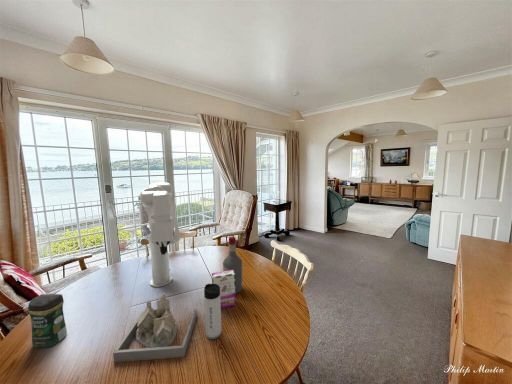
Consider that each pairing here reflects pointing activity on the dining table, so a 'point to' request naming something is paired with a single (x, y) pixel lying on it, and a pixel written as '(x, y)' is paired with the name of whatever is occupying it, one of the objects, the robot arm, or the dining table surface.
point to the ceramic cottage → (156, 325)
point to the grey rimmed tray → (151, 353)
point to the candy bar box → (226, 287)
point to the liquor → (234, 264)
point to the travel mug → (212, 311)
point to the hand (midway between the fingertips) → (164, 253)
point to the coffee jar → (47, 320)
